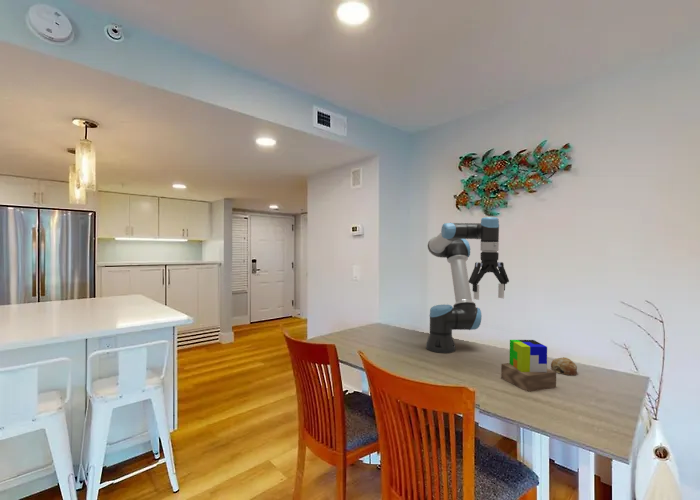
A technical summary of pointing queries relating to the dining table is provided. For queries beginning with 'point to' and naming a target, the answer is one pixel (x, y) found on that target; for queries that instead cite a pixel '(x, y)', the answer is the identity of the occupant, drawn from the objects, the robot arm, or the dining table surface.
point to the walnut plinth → (528, 378)
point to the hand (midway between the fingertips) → (488, 298)
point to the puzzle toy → (528, 355)
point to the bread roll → (564, 366)
